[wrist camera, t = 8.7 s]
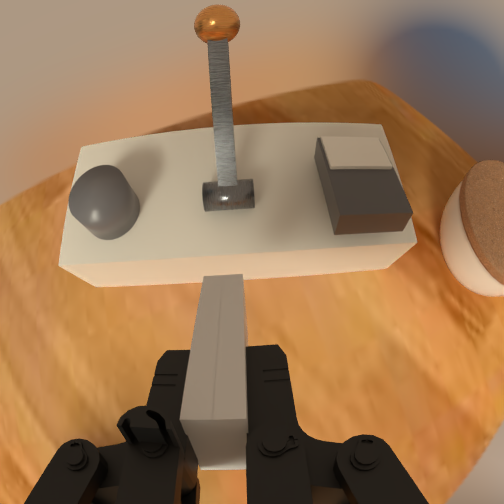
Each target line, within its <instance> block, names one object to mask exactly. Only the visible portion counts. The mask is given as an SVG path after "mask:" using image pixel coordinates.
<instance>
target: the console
mask: <svg viewBox="0 0 504 504" xmlns="http://www.w3.org/2000/svg"><path fill="white" fill-rule="evenodd" d="M233 126H234V140H235V155H236V169H237V180H240V179H253V184H254V198H255V208H251V209H236V210H222V211H209V212H205V210H204V206H203V198H202V184H203V182H213V181H218V178H217V166H216V154H215V142H214V129H213V127H209V128H198V129H189V130H180V131H172V132H165V133H157V134H150V135H144V136H137V137H131V138H126V139H120V140H114V141H109V142H103V143H98V144H93V145H88V146H84V147H81V151H80V154H79V158H78V162H77V166H76V170H75V174H74V179H73V183H72V187H73V185H74V184H75V182H76V181H77V180H78V178H79V177H80V176H81V175H82V174H84V173H85V172H86V171H88V170H89V169H91V168H93V167H96V166H100V165H112V166H114V167H116V168H118V169H119V170H120V171H121V172H122V174H123V175H124V177H125V178H126V180H127V181H128V183H129V185H130V186H131V188H132V189H133V191H134V192H135V194H136V195H137V197H138V199H139V203H140V211H139V216H138V218H137V221H136V222H135V224H134V225H133V227H132V228H131V229H130V230H129V231H128V232H127V233H126V234H124V235H123V236H121V237H119V238H117V239H113V240H102V239H99V238H97V237H96V236H94V235H93V234H92V233H91V232H90V231H89V230H88V229H87V228H85V227H84V226H83V225H82V224H81V223H80V222H79V221H78V220H77V219H76V218H75V217H74V216H73V215H72V214H71V212H70V209H69V202H68V207H67V213H66V218H65V224H64V230H63V237H62V244H61V251H60V259H59V266H60V267H62V268H63V269H65V270H67V271H69V272H70V273H72V274H74V275H75V276H77V277H79V278H81V279H82V280H84V281H86V282H88V283H90V284H91V285H93V286H95V287H114V286H139V285H161V284H181V283H200V282H203V277H204V276H215V275H231V274H243V280H250V279H265V278H280V277H293V276H307V275H320V274H332V273H345V272H356V271H368V270H379V269H386V268H388V267H389V266H390V265H391V264H392V263H394V262H395V261H396V260H397V259H398V258H400V257H401V256H402V255H403V254H404V253H406V252H407V251H408V250H409V249H410V248H411V247H413V246H414V245H415V244H416V243H417V239H416V234H415V230H414V226H413V222H412V218H410V219H409V221H408V223H407V225H406V227H405V228H404V230H403V231H399V232H380V233H362V234H344V235H334V233H333V228H332V224H331V220H330V216H329V212H328V208H327V204H326V200H325V196H324V192H323V188H322V185H321V181H320V177H319V174H318V170H317V166H316V163H315V159H314V155H315V148H316V141H317V138H321V136H331V137H375V138H379V139H380V141H381V143H382V145H383V147H384V149H385V151H386V153H387V155H388V157H389V159H390V161H391V163H392V166H393V168H394V170H395V172H396V174H397V176H398V179H399V181H400V183H401V180H400V176H399V173H398V170H397V167H396V164H395V161H394V158H393V155H392V152H391V149H390V146H389V143H388V140H387V138H386V135H385V132H384V130H383V127H382V124H363V123H325V122H306V123H267V124H248V125H233ZM401 185H402V183H401ZM402 188H403V186H402ZM71 189H72V188H71Z"/></svg>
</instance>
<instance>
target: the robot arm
mask: <svg viewBox="0 0 504 504" xmlns="http://www.w3.org/2000/svg"><path fill="white" fill-rule="evenodd" d="M117 427H118V428H119V430H120V432H121V433H122V435H123V436H124V438H125V439H126V442H124V443H120V444H117V445H111V446H105V447H98V448H96V446H95V445H94V444H92V443H91V442H89V441H88V440H84V439H73V440H70V441H68V442H66V443H64V444H63V445H62V446H61V447H60V448H59V449H58V450H57V452H56V453H55V455H54V457H53V458H52V460H51V461H50V463H49V464H48V466H47V467H46V469H45V471H44V472H43V474H42V475H41V477H40V479H39V480H38V482H37V483H36V485H35V487H34V488H33V490H32V491H31V493H30V495H29V496H28V498H27V500H26V501H25V503H24V504H199V499H200V484H199V480H198V478H197V470H198V465H199V467H200V469H201V470H238V469H246V478H247V504H429V503H428V502H427V500H426V499H425V497H424V496H423V494H422V493H421V491H420V490H419V489H418V487H417V486H416V484H415V483H414V481H413V480H412V478H411V477H410V475H409V474H408V472H407V471H406V470H405V468H404V467H403V465H402V464H401V462H400V461H399V459H398V458H397V456H396V455H395V453H394V452H393V451H392V449H391V448H390V446H389V445H388V444H387V443H386V442H385V441H384V440H383V439H381V438H378V437H376V436H374V435H363V434H362V435H358V436H354V437H351V438H350V439H348V440H347V441H345V442H344V443H334V442H326V441H321V440H317V439H314V438H312V437H310V436H308V435H307V434H306V433H305V432H304V431H303V430H302V429H301V428H300V426H299V424H298V421H297V418H296V411H295V405H294V399H293V393H292V387H291V381H290V375H289V371H288V363H287V357H286V354H285V353H284V352H283V351H282V349H281V348H280V347H279V346H278V344H277V345H263V346H249V347H248V330H247V318H246V306H245V294H244V282H243V274H231V275H215V276H204V277H203V283H202V288H201V293H200V299H199V304H198V310H197V315H196V321H195V326H194V332H193V338H192V344H191V350H167V351H166V352H165V353H164V354H163V356H162V357H161V358H160V359H159V360H158V362H157V366H156V370H155V376H154V378H153V382H152V387H151V389H150V393H149V398H148V402H147V406H138V407H135V408H133V409H131V410H128V411H127V412H126V413H125V414H124V415H122V416H121V417H120V419H119V421H118V423H117Z"/></svg>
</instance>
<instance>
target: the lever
mask: <svg viewBox="0 0 504 504" xmlns="http://www.w3.org/2000/svg"><path fill="white" fill-rule="evenodd" d="M239 28H240V20H239V17H238V15H237V14H236V12H235V11H234V10H233V9H231V8H229V7H227V6H225V5H211V6H208V7H206V8H204V9H203V10H202V11H201V12H200V13H199V14H198V15H197V17H196V19H195V23H194V29H195V32H196V34H197V36H198V37H199V38H200V39H201V40H202V41H204V42H205V43H208V57H209V74H210V89H211V103H212V116H213V129H214V142H215V154H216V166H217V178H218V181H213V182H203V184H202V198H203V206H204V210H205V212H209V211H222V210H236V209H251V208H255V198H254V184H253V179H240V180H237V169H236V155H235V140H234V126H233V111H232V97H231V80H230V65H229V50H228V42H229V41H231V40H232V39H233V38H234V37H235V36H236V35H237V33H238V31H239Z"/></svg>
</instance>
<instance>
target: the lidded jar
mask: <svg viewBox="0 0 504 504" xmlns="http://www.w3.org/2000/svg"><path fill="white" fill-rule="evenodd" d="M440 245H441V249H442V253H443V256H444V259H445V262H446V264H447V266H448V268H449V270H450V271H451V273H452V274H453V275H454V277H455V278H456V279H457V280H458V281H459V282H460V283H461V284H462V285H463V286H465V287H466V288H467V289H469V290H471V291H472V292H474V293H477V294H480V295H484V296H490V297H500V296H504V163H503V162H500V161H496V160H484V161H481V162H478V163H477V164H475V165H474V166H473V167H472V168H471V169H470V170H469V171H468V173H467V174H466V175H465V177H464V179H463V180H462V181H461V182H460V184H459V185H458V186H457V187H456V188H455V190H454V192H453V193H452V195H451V196H450V198H449V200H448V202H447V204H446V206H445V208H444V211H443V214H442V218H441V223H440Z"/></svg>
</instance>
